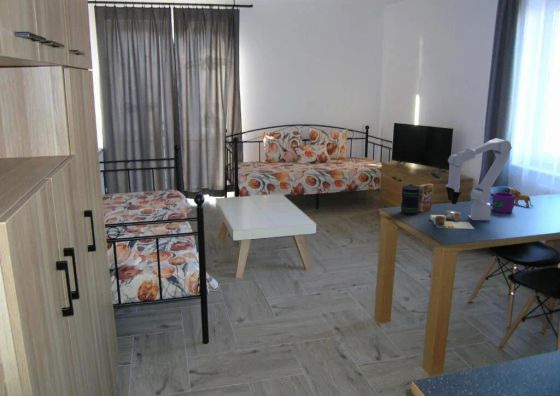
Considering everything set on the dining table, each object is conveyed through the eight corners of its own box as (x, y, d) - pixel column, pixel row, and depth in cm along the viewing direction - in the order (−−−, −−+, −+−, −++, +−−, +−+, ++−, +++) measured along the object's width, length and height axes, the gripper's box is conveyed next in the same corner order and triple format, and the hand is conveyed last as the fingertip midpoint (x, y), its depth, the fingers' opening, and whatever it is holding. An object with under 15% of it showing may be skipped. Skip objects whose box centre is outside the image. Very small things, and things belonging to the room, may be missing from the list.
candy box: (421, 212, 267) (423, 186, 264) (415, 210, 271) (417, 184, 267) (431, 209, 272) (433, 184, 268) (425, 208, 276) (427, 182, 272)
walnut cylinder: (444, 223, 245) (445, 216, 244) (443, 226, 241) (444, 218, 240) (435, 222, 247) (436, 215, 246) (434, 225, 243) (435, 217, 242)
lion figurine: (506, 203, 285) (508, 188, 283) (510, 201, 288) (512, 187, 286) (531, 208, 274) (533, 193, 272) (535, 206, 277) (537, 191, 275)
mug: (517, 212, 267) (519, 194, 264) (506, 215, 261) (508, 197, 258) (489, 205, 281) (490, 189, 278) (477, 208, 274) (479, 191, 272)
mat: (468, 222, 248) (468, 221, 248) (474, 229, 237) (474, 227, 237) (433, 221, 250) (433, 220, 250) (437, 228, 239) (437, 226, 239)
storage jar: (417, 211, 270) (419, 185, 266) (419, 216, 260) (421, 189, 257) (399, 210, 271) (401, 185, 268) (401, 215, 262) (402, 189, 258)
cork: (459, 220, 252) (460, 212, 251) (461, 222, 249) (461, 213, 248) (453, 220, 252) (454, 212, 251) (455, 221, 249) (455, 213, 248)
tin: (455, 216, 259) (456, 210, 258) (457, 220, 253) (458, 213, 252) (444, 216, 260) (444, 210, 259) (446, 219, 254) (446, 213, 253)
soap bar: (443, 219, 255) (443, 215, 254) (445, 221, 251) (445, 217, 250) (430, 219, 255) (430, 214, 255) (432, 221, 251) (432, 217, 250)
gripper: (443, 174, 255) (441, 198, 258) (449, 179, 241) (447, 205, 244) (457, 174, 254) (454, 198, 257) (464, 180, 240) (461, 205, 243)
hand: (452, 202), depth 250 cm, fingers open, 7 cm apart
